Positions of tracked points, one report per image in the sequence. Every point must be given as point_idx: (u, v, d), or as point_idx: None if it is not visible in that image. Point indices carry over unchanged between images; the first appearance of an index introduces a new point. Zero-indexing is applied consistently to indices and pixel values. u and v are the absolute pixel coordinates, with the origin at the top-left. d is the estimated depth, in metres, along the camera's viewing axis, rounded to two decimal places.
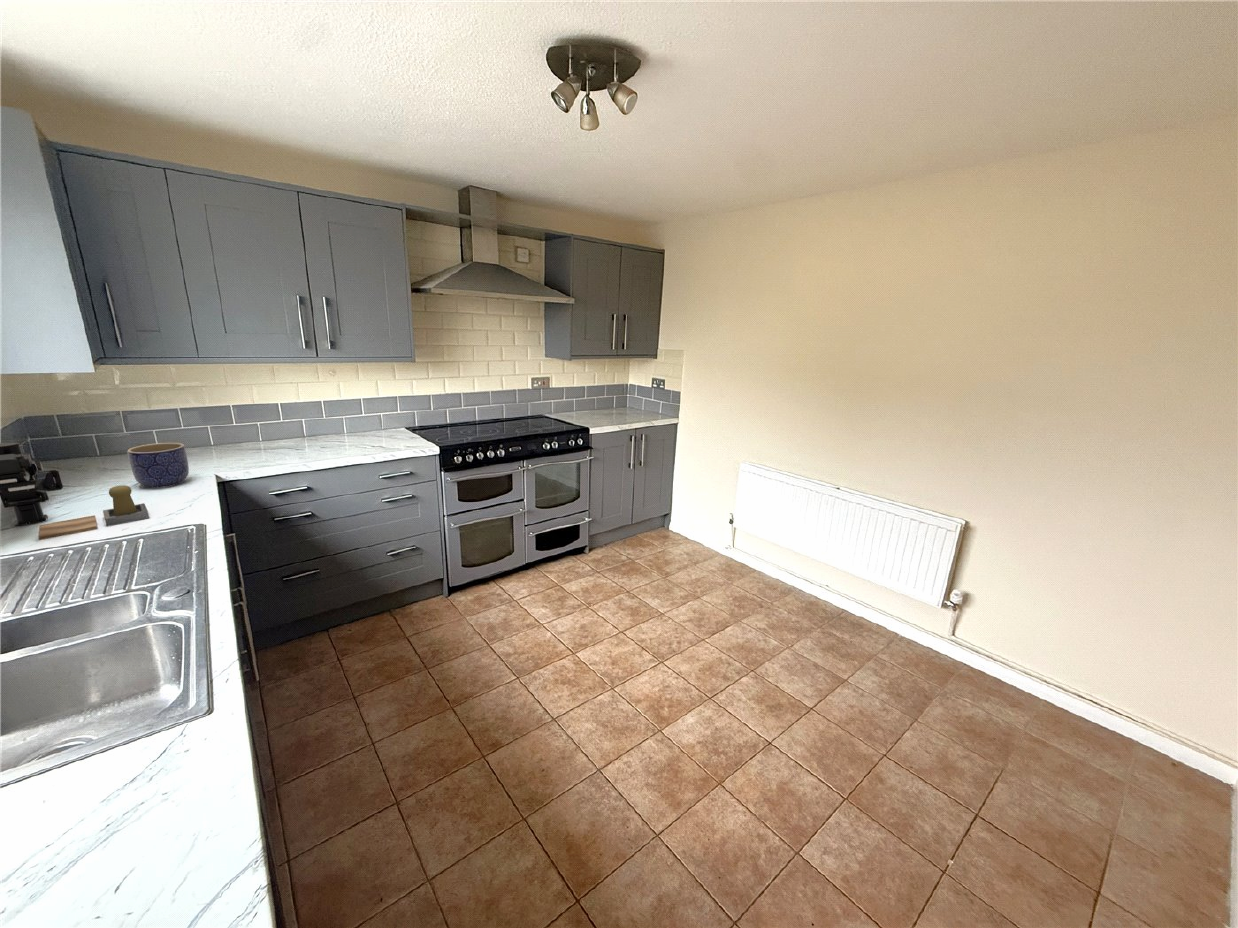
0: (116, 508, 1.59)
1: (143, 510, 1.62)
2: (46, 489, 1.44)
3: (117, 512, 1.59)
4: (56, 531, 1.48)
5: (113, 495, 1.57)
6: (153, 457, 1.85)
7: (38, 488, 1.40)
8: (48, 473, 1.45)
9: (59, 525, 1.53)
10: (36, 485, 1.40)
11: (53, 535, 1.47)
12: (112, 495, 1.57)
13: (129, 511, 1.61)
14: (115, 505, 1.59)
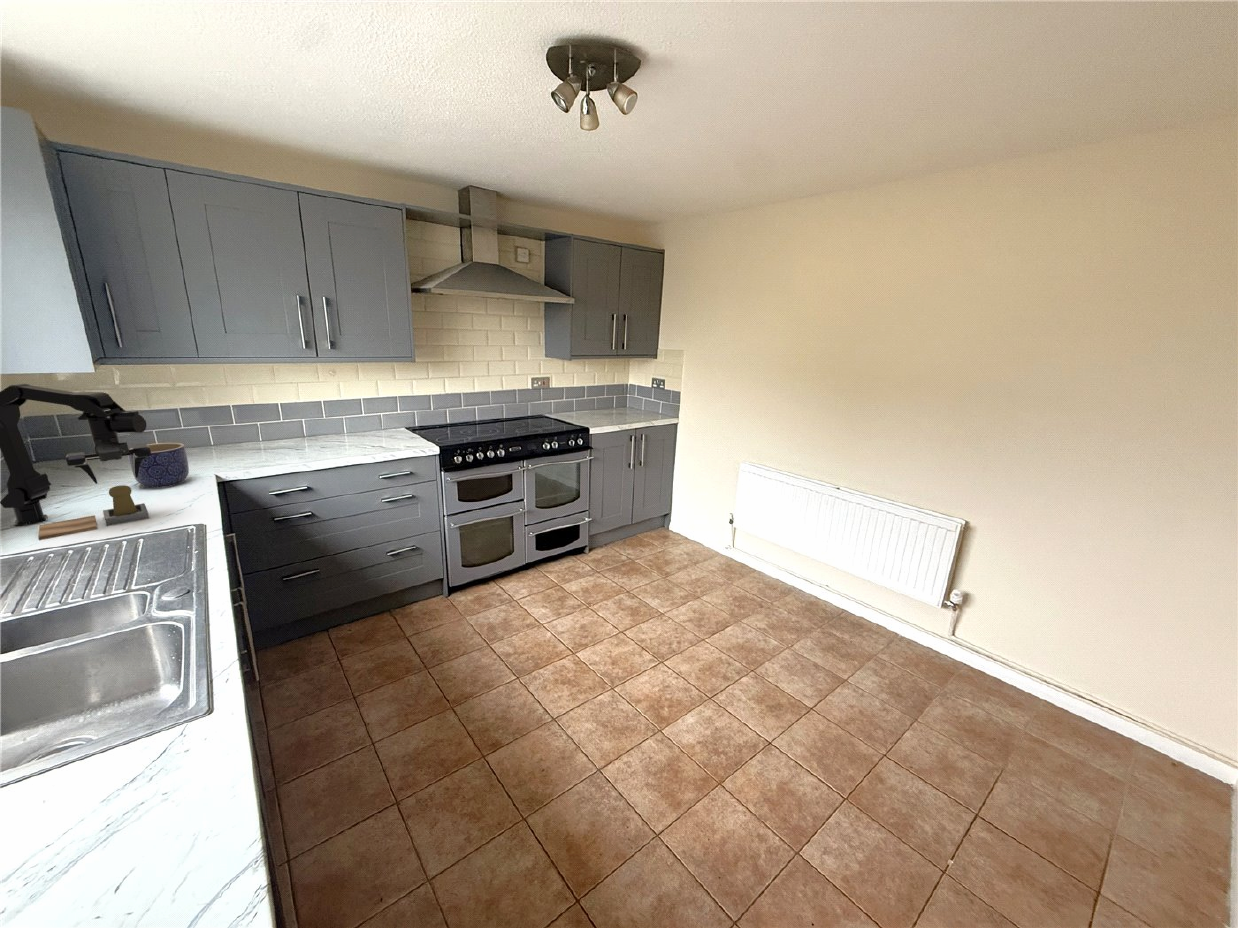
0: (116, 508, 1.59)
1: (143, 510, 1.62)
2: None
3: (117, 512, 1.59)
4: (56, 531, 1.48)
5: (113, 495, 1.57)
6: (153, 457, 1.85)
7: (137, 474, 1.62)
8: (143, 458, 1.60)
9: (59, 525, 1.53)
10: (136, 474, 1.61)
11: (53, 535, 1.47)
12: (112, 495, 1.57)
13: (129, 511, 1.61)
14: (115, 505, 1.59)
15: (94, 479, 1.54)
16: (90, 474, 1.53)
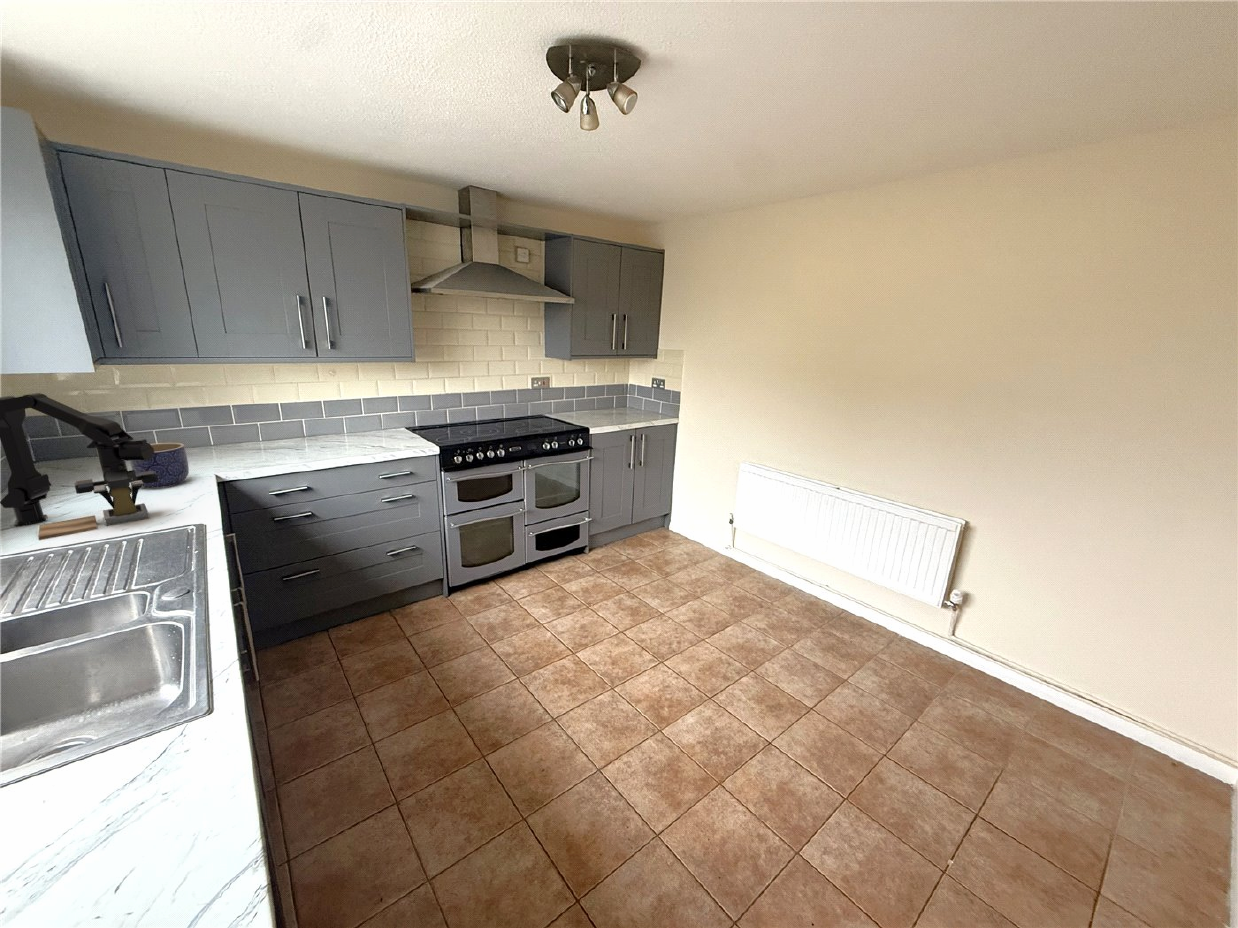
0: (116, 508, 1.59)
1: (143, 510, 1.62)
2: None
3: (117, 512, 1.59)
4: (56, 531, 1.48)
5: (113, 495, 1.57)
6: (153, 457, 1.85)
7: None
8: (141, 486, 1.61)
9: (59, 525, 1.53)
10: (134, 502, 1.62)
11: (53, 535, 1.47)
12: (112, 495, 1.57)
13: (129, 511, 1.61)
14: (115, 505, 1.59)
15: (112, 504, 1.58)
16: (108, 499, 1.57)
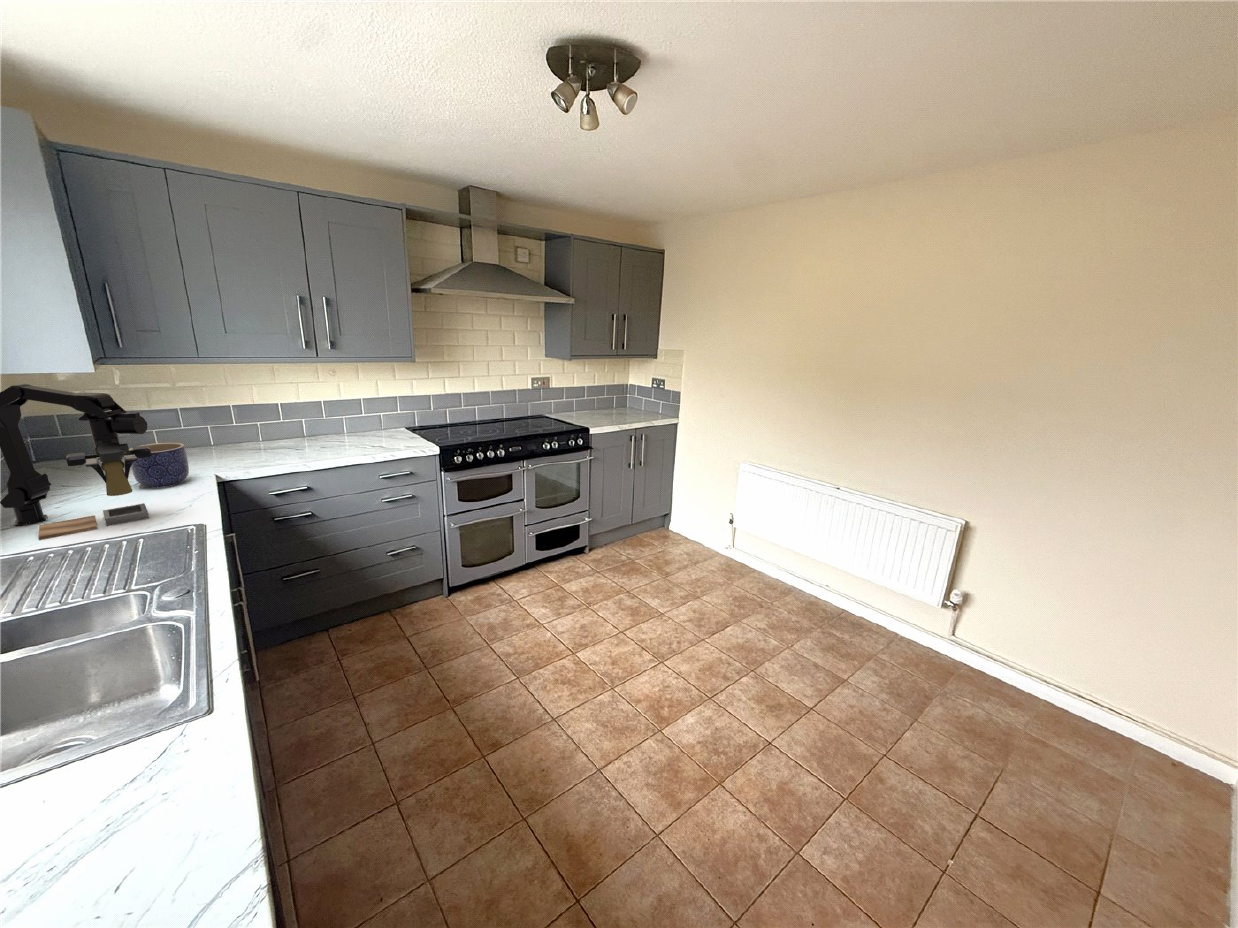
0: (109, 482, 1.56)
1: (143, 510, 1.62)
2: None
3: (109, 487, 1.56)
4: (56, 531, 1.48)
5: (105, 469, 1.55)
6: (153, 457, 1.85)
7: None
8: (134, 460, 1.59)
9: (59, 525, 1.53)
10: (127, 477, 1.60)
11: (53, 535, 1.47)
12: (104, 469, 1.55)
13: (122, 486, 1.58)
14: (107, 479, 1.56)
15: (104, 478, 1.56)
16: (100, 473, 1.55)
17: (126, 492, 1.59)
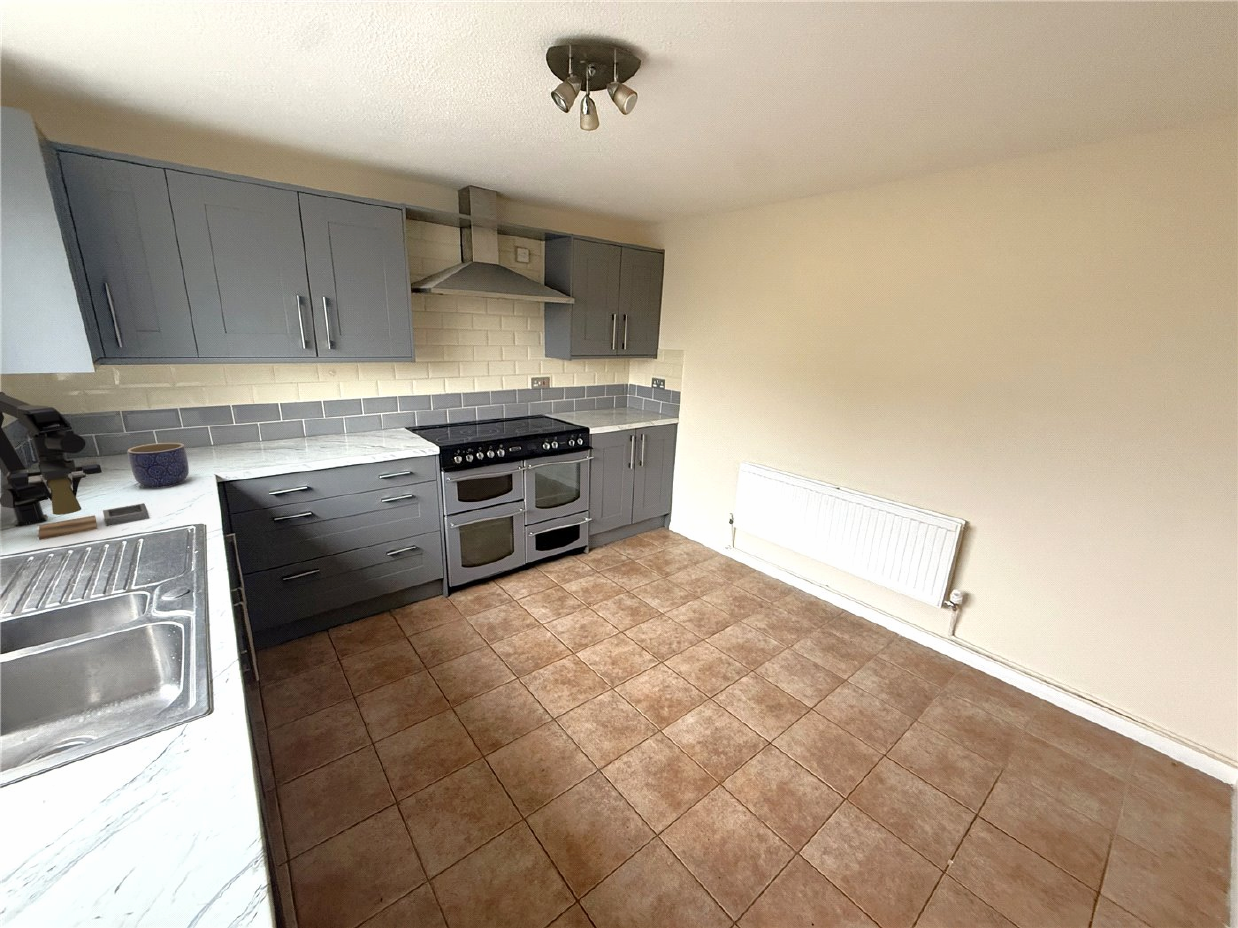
0: (54, 500, 1.48)
1: (143, 510, 1.62)
2: None
3: (55, 505, 1.49)
4: (56, 531, 1.48)
5: (51, 486, 1.47)
6: (153, 457, 1.85)
7: (76, 494, 1.53)
8: (82, 477, 1.51)
9: (59, 525, 1.53)
10: (75, 494, 1.52)
11: (53, 535, 1.47)
12: (49, 487, 1.47)
13: (69, 504, 1.50)
14: (53, 497, 1.48)
15: (50, 496, 1.48)
16: (45, 491, 1.47)
17: (74, 510, 1.51)
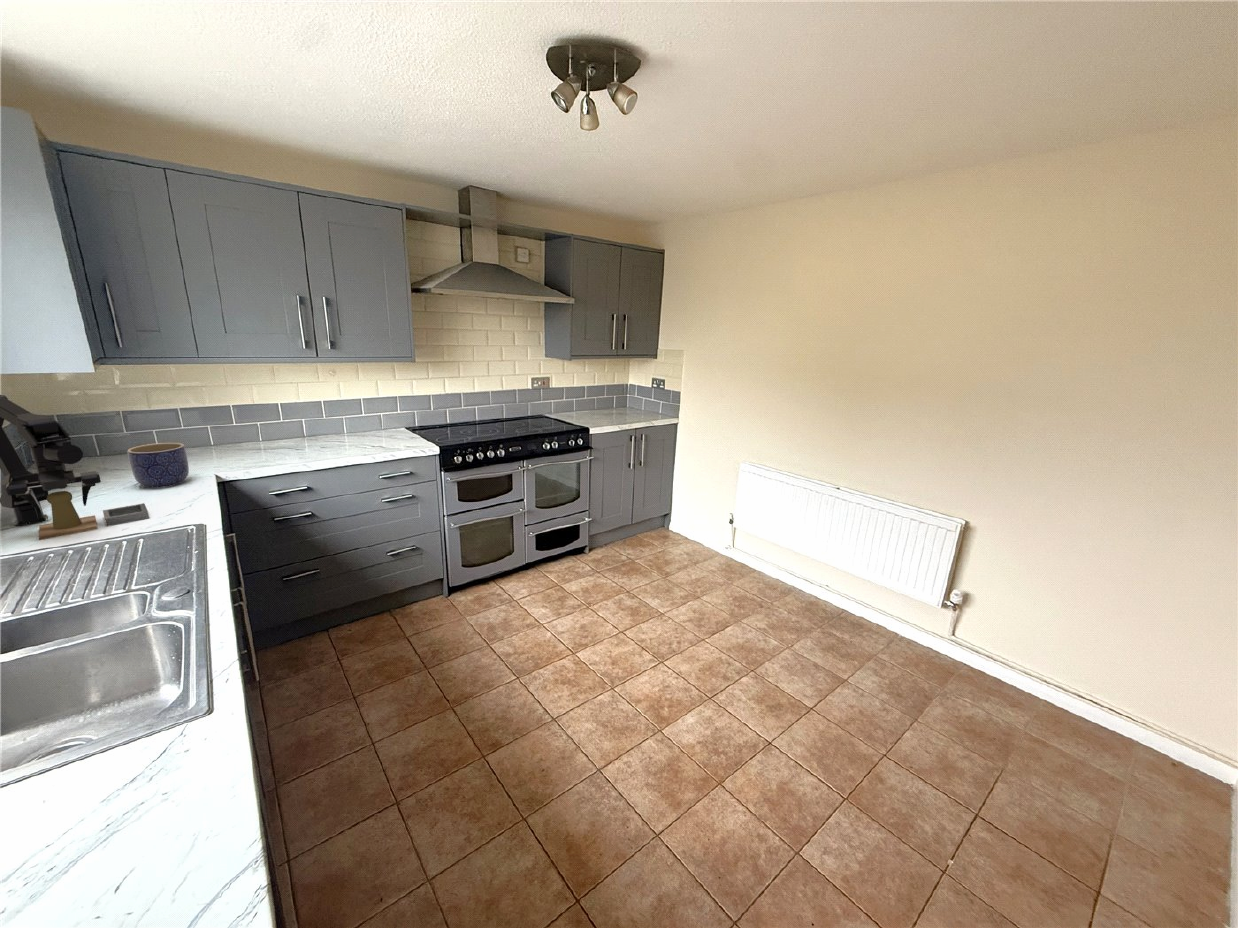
0: (55, 515, 1.49)
1: (143, 510, 1.62)
2: None
3: (56, 520, 1.49)
4: (56, 531, 1.48)
5: (51, 501, 1.48)
6: (153, 457, 1.85)
7: None
8: None
9: None
10: (85, 502, 1.54)
11: (53, 535, 1.47)
12: (50, 502, 1.48)
13: (69, 518, 1.51)
14: (54, 512, 1.49)
15: (38, 508, 1.47)
16: (33, 503, 1.46)
17: (74, 525, 1.52)
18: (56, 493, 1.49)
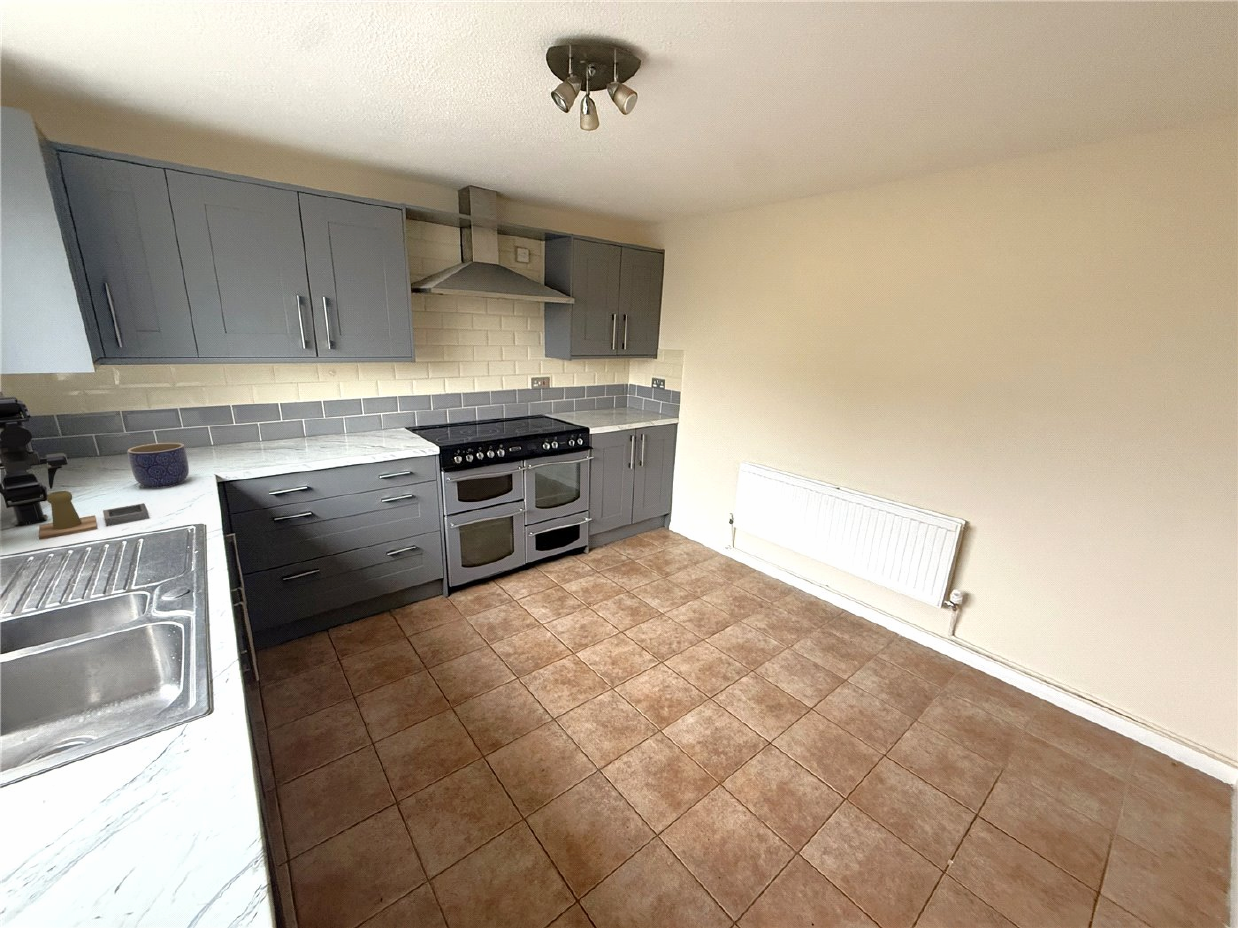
0: (55, 515, 1.49)
1: (143, 510, 1.62)
2: None
3: (56, 520, 1.49)
4: (56, 531, 1.48)
5: (51, 501, 1.48)
6: (153, 457, 1.85)
7: (52, 485, 1.50)
8: (58, 468, 1.48)
9: None
10: (51, 485, 1.49)
11: (53, 535, 1.47)
12: (50, 502, 1.48)
13: (69, 518, 1.51)
14: (54, 512, 1.49)
15: (1, 491, 1.42)
16: None
17: (74, 525, 1.52)
18: (56, 493, 1.49)
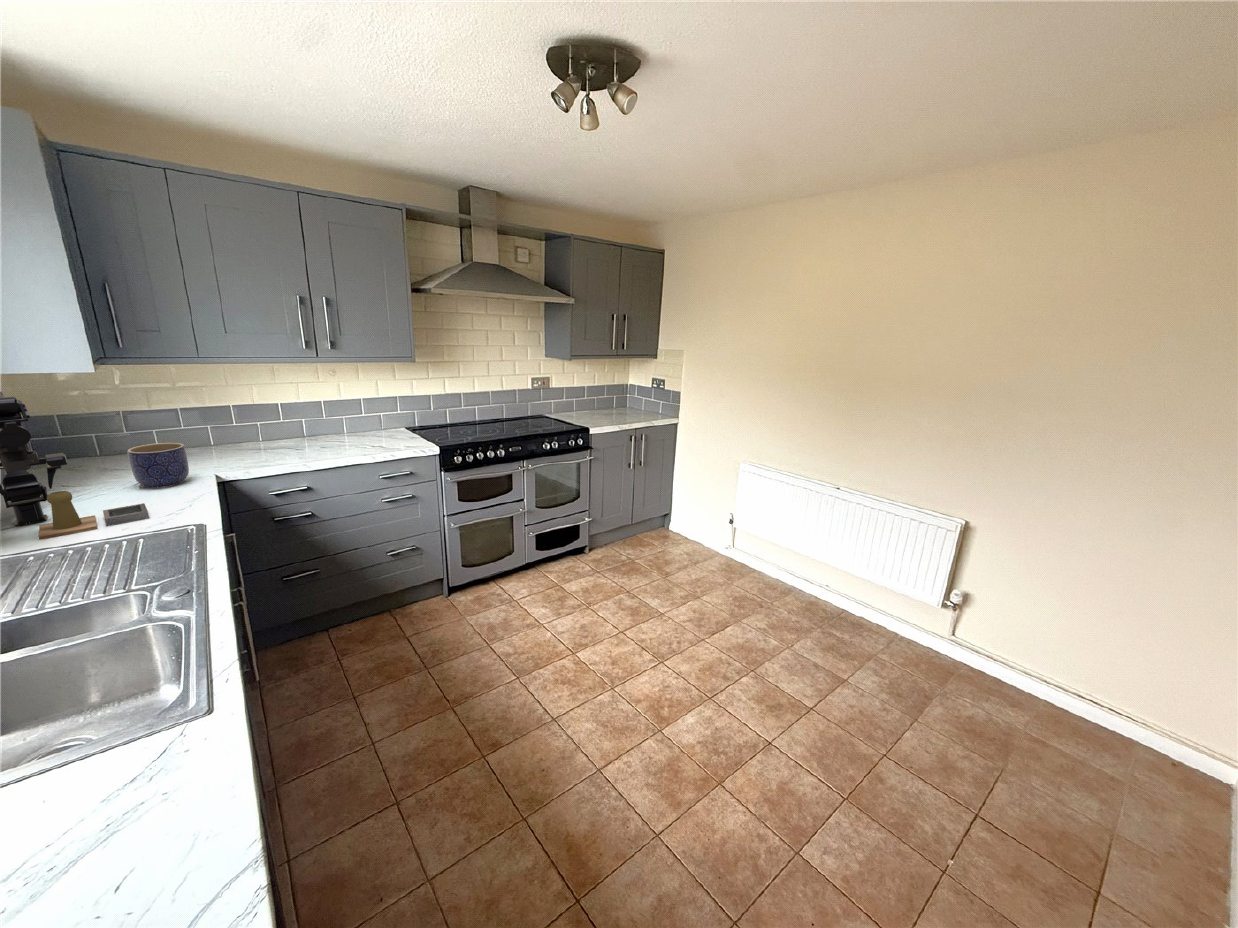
0: (55, 515, 1.49)
1: (143, 510, 1.62)
2: None
3: (56, 520, 1.49)
4: (56, 531, 1.48)
5: (51, 501, 1.48)
6: (153, 457, 1.85)
7: None
8: None
9: None
10: (50, 485, 1.49)
11: (53, 535, 1.47)
12: (50, 502, 1.48)
13: (69, 518, 1.51)
14: (54, 512, 1.49)
15: (0, 491, 1.42)
16: None
17: (74, 525, 1.52)
18: (56, 493, 1.49)
